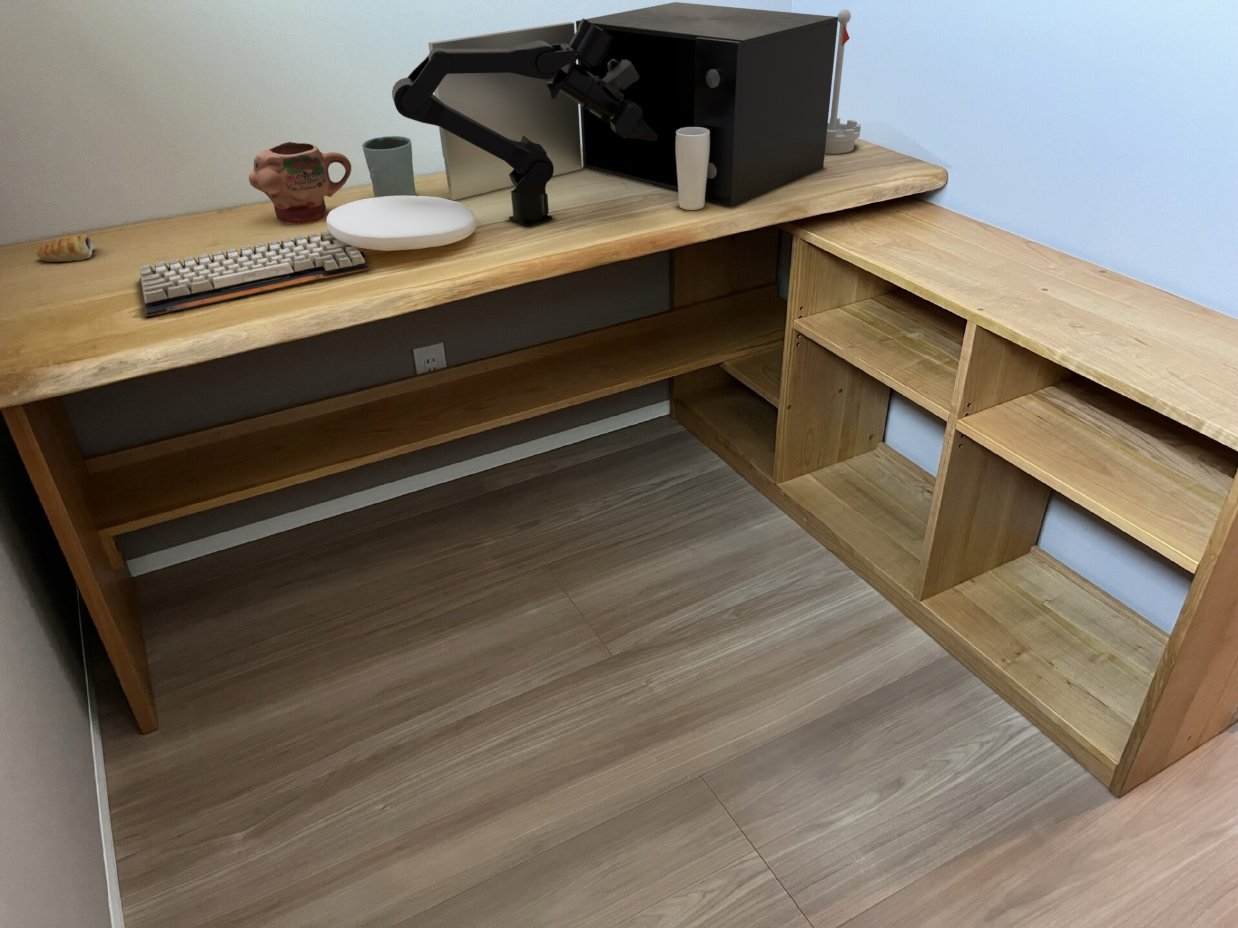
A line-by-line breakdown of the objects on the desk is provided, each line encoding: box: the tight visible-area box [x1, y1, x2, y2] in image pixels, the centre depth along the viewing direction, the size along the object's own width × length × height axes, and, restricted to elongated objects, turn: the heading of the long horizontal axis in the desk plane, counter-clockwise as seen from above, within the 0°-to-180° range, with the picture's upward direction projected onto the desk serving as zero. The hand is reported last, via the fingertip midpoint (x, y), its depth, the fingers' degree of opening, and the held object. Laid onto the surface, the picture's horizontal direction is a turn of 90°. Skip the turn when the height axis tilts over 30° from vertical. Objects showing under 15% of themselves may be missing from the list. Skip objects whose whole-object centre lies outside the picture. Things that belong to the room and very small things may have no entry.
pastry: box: [35, 233, 95, 263], centre depth 168 cm, size 9×7×4 cm
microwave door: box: [427, 21, 583, 201], centre depth 192 cm, size 7×34×31 cm, turn 127°
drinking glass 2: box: [675, 127, 710, 211], centre depth 178 cm, size 7×7×15 cm
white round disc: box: [326, 195, 477, 252], centre depth 169 cm, size 28×6×27 cm
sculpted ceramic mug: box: [248, 141, 352, 225], centre depth 181 cm, size 20×12×14 cm, turn 117°
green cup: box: [361, 135, 417, 198], centre depth 189 cm, size 10×10×12 cm
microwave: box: [575, 1, 839, 208], centre depth 195 cm, size 35×44×31 cm
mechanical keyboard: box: [138, 229, 370, 318], centre depth 158 cm, size 38×19×3 cm, turn 118°
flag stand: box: [825, 9, 862, 155], centre depth 207 cm, size 13×13×30 cm
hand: (649, 133), depth 176 cm, fingers open, 9 cm apart
